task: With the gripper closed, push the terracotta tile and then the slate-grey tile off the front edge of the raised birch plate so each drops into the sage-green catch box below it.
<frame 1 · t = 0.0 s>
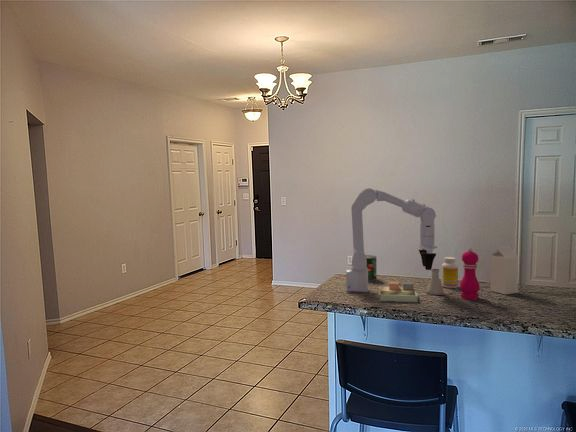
hand: (426, 267, 173), 10 cm above the countertop, fingers open, 7 cm apart
milk carton: (503, 292, 171), on the countertop
birch plate: (396, 295, 169), on the countertop
supplement bottle: (449, 287, 181), on the countertop
slate tile: (407, 289, 169), point 2 cm above the countertop, touching birch plate
flask: (435, 293, 171), on the countertop
terracotta tile: (393, 288, 170), point 2 cm above the countertop, touching birch plate
pepper mill: (469, 298, 163), on the countertop
catch box: (397, 299, 162), on the countertop
canned tomato: (368, 279, 200), on the countertop
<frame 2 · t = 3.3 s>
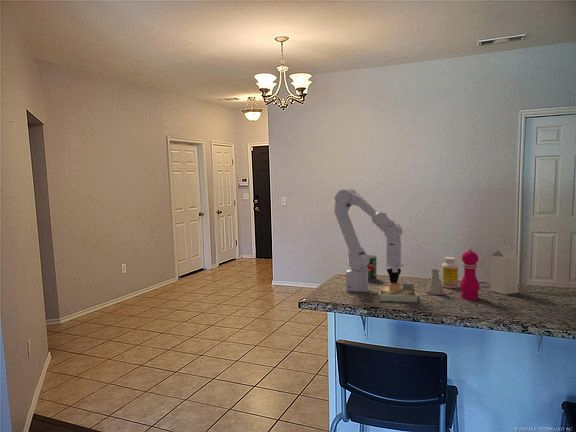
hand: (393, 286, 171), 3 cm above the countertop, fingers closed
terracotta tile: (394, 289, 168), point 3 cm above the countertop, touching gripper
everything else where it was.
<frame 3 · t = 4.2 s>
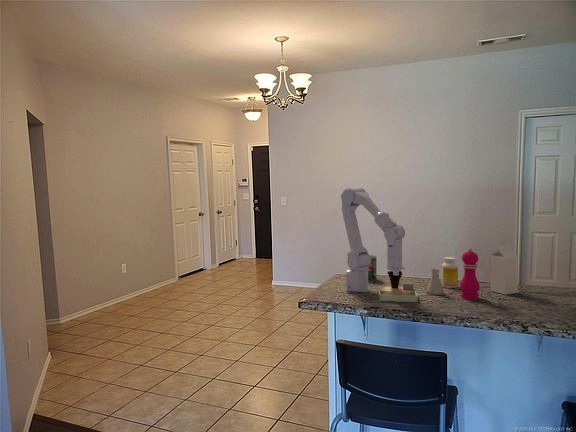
hand: (394, 289, 165), 3 cm above the countertop, fingers closed
terracotta tile: (395, 293, 162), point 2 cm above the countertop, tilted 90°, touching catch box
everything else where it was.
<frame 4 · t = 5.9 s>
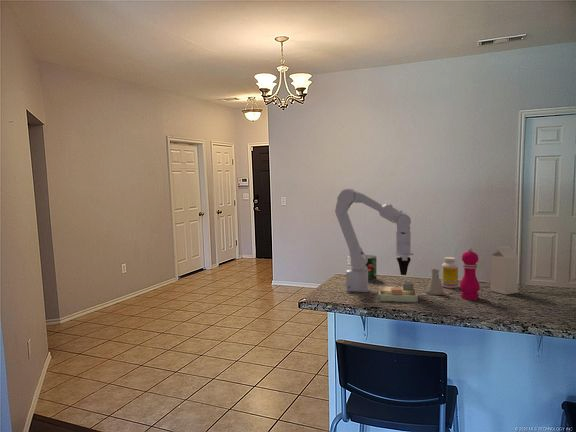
hand: (403, 274, 173), 7 cm above the countertop, fingers closed
nothing on the countertop moved.
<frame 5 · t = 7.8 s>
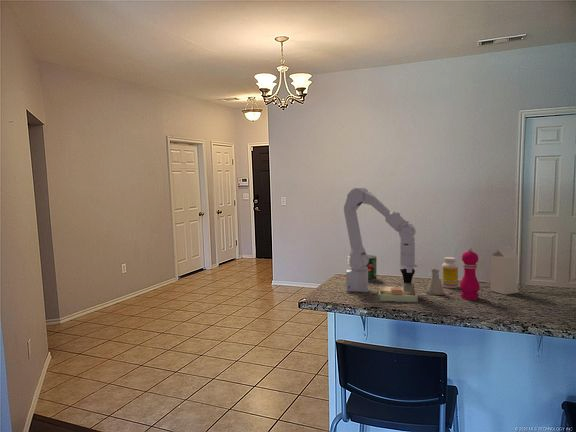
hand: (407, 286, 170), 3 cm above the countertop, fingers closed
slate tile: (408, 290, 167), point 2 cm above the countertop, touching birch plate, gripper
everything else where it was.
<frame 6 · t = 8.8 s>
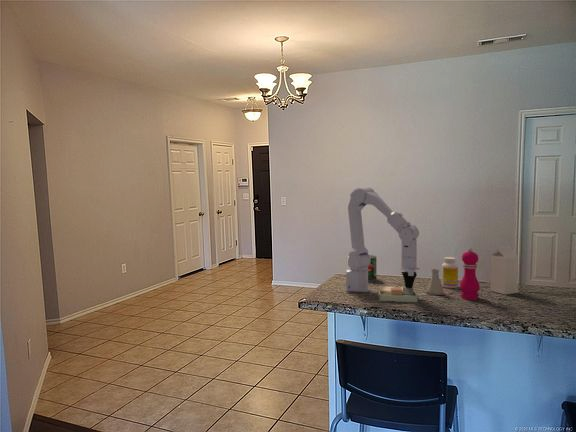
hand: (408, 290, 164), 3 cm above the countertop, fingers closed
slate tile: (407, 295, 162), point 1 cm above the countertop, tilted 25°, touching catch box, gripper
everything else where it was.
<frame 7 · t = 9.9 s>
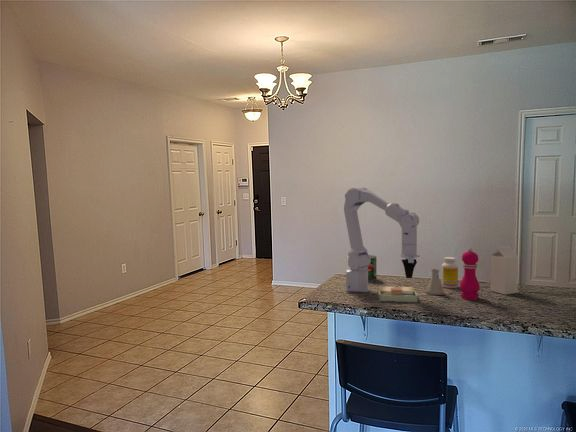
hand: (408, 277, 163), 8 cm above the countertop, fingers closed
slate tile: (407, 298, 162), resting on catch box
everything else where it was.
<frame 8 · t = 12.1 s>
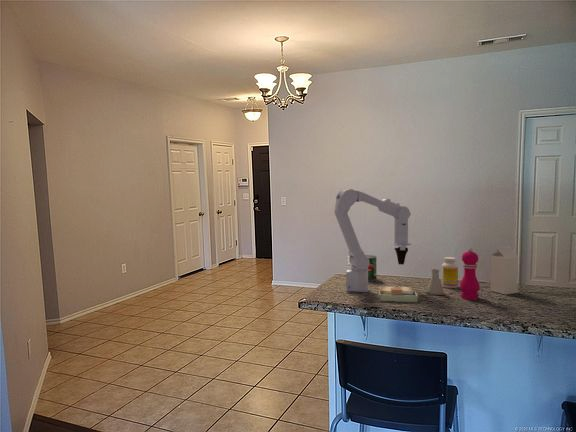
hand: (401, 264, 181), 10 cm above the countertop, fingers closed
nothing on the countertop moved.
at the end: terracotta tile inside the target area (1.1 cm from its centre), point 2.4 cm above the countertop; slate tile inside the target area (4.0 cm from its centre), resting on catch box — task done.
